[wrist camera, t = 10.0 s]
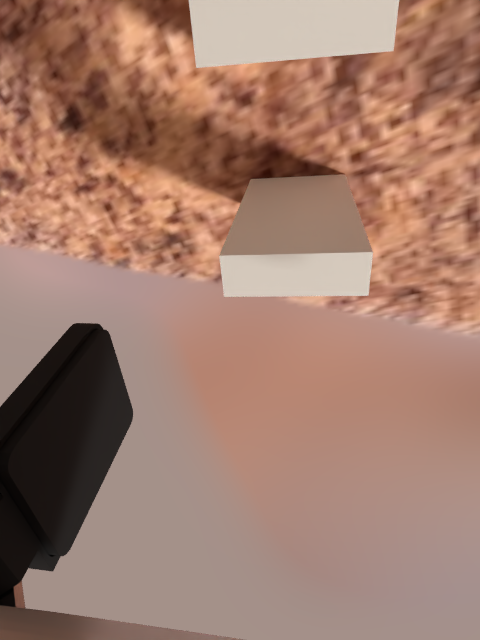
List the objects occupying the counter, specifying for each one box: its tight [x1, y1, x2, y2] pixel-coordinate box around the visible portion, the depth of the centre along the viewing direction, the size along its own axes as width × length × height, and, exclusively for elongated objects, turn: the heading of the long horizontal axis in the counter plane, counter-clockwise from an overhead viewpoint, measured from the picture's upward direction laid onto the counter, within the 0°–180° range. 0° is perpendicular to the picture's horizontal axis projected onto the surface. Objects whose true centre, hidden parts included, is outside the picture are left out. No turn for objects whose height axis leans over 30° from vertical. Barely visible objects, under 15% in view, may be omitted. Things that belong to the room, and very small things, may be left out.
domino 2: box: [219, 174, 373, 297], centre depth 18 cm, size 2×5×10 cm, turn 95°
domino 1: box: [189, 0, 399, 68], centre depth 14 cm, size 2×5×10 cm, turn 95°
